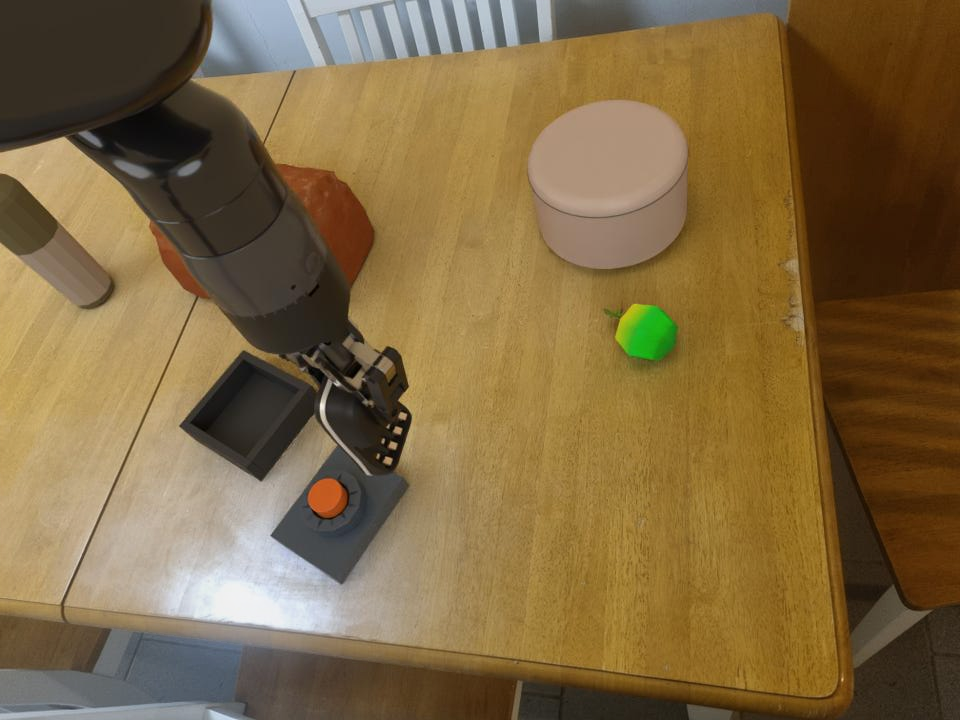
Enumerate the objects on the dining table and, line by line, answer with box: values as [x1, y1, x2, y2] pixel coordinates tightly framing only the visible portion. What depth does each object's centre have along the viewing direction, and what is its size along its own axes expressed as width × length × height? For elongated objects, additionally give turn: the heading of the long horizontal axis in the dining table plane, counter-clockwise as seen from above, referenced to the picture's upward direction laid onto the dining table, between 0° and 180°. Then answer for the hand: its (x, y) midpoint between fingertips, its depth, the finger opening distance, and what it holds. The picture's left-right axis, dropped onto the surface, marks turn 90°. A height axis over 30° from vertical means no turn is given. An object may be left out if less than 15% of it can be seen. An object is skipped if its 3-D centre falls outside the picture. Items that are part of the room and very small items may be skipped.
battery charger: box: [314, 347, 413, 476], centre depth 59 cm, size 7×4×11 cm, turn 166°
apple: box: [601, 303, 679, 362], centre depth 78 cm, size 7×6×9 cm
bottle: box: [0, 172, 115, 310], centre depth 93 cm, size 7×7×30 cm
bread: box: [148, 162, 375, 301], centre depth 94 cm, size 17×24×15 cm
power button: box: [308, 478, 348, 518], centre depth 74 cm, size 4×4×2 cm
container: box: [526, 99, 690, 270], centre depth 86 cm, size 18×18×12 cm
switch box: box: [269, 444, 410, 586], centre depth 76 cm, size 12×9×4 cm
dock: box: [178, 349, 318, 482], centre depth 85 cm, size 12×12×4 cm
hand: (363, 401), depth 57 cm, fingers closed on battery charger, 5 cm apart
